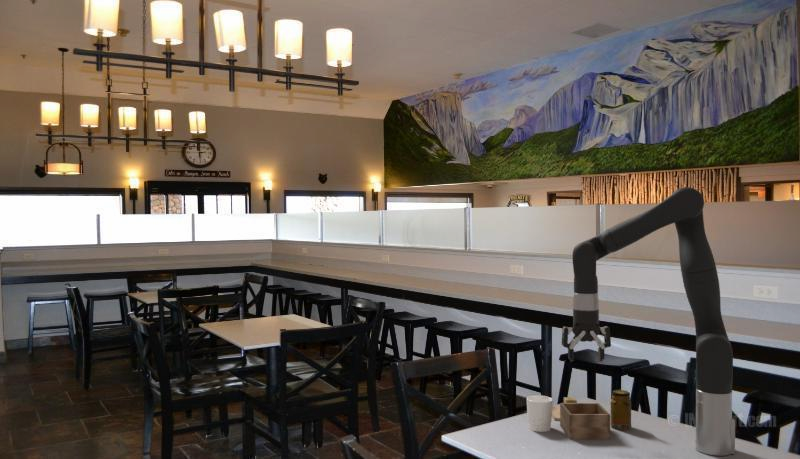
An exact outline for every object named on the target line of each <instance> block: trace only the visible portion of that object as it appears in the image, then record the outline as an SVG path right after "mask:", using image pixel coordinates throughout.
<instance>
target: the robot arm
mask: <svg viewBox="0 0 800 459" xmlns="http://www.w3.org/2000/svg"><path fill="white" fill-rule="evenodd" d="M704 207H705V199H704V196H703V194H702V193H701V192H700V191H699V190H698V189H696V188H695V187H690V186H689V187H688V186H683V187H681V188H678V189H676V190H674V191H673V192H672V193H671V195H669V196H668V197H666V198H665V199H664V200H662V201H661V202H659V203H658V204H656V205H655V206H653V207H652V208H649V209H648V210H646V211H644V212H641V213H639V214H638V215H635V216H632V217H630V218H628V219H626V220H623V221H620V223H617V224H615V225H613V226H611V227H610V228H609V227H608V228H607V229H605V230H604V231H602V232H601V233H600V234H597V235H595V236H593V237H591V238H588V239H586V240H584V241H582V242H579V243H577V244H576V245H575V246H574V247H573V250H572V257H571V258H572V267H573V269H572V270H573V297H572V318H573V319H572V327H570V326H569V327H568V326H563V327H562V330H561V333H562V334H561V345H562V346H563V347H564V348H566V349H567V358H568V360H570V362H574V361H575V349H574V348H575V347H576V345H578V344H579V343H580V342H595V343H596V345H597V346H598V348H597V354H598V355H597V360H598V362H603V360H605V349H606V348H611V346H612V342H611V341H612V340H611V339H612V338H611V329H610V327H609V326H606V325H604V326H602V327H601V326H600V301H599V300H600V299H599V281H598V276H597V262H598V261H599V260H601V259H602V258H604V257H606V256H608V255H610V254H612V253H615V252H618V251H620V250H622V249H625V248H627V247H628V246H631V245H632V244H635V243H637V242H638V241H640V240H642V239H644V238H645V237H647V236H648V235H650V234H652V233H654V232H656V231H658V230H659V229H662V228H665V227H667V226H670V225H672V224H674V225H675V229H676V234H677V238H678V252H679V265H680V272H681V277H682V282H683V287H684V290H685V293H686V294H685V295H686V298H687V301H688V303H689V307H690V308H691V312H692V315H693V320H694V327H695V328H694V329H695V450H697V451H698V452H701V453H702V454H706V455H710V456H718V457H720V456H723V457H724V456H729V455H734V454H736V421H735V419H734V418H733V380H734V377H733V376H734V375H733V374H734V373H733V372H734V371H733V370H734V369H733V368H734V353H733V352H734V351H733V348H732V343H731V341H730V339H729V336H728V334H727V331H726V327H725V324H724V320H723V316H722V311H721V310H722V309H721V308H722V307H721V286H720V280H719V276H718V274H719V273H718V270H717V265H716V260H715V257H714V254H713V251H712V248H711V246H710V243H709V241H708V238H707V234H706V229H705V222H704V221H705V220H704ZM571 332H572V333H573V334H574V335H573V337H571V340H570V341H569V336H570V334H571ZM600 333H602V334H603V336H604V337H603V338H604V342H602V340H601V339H600V338H599V336H598V335H599V334H600ZM568 341H569V343H568Z"/></svg>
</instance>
